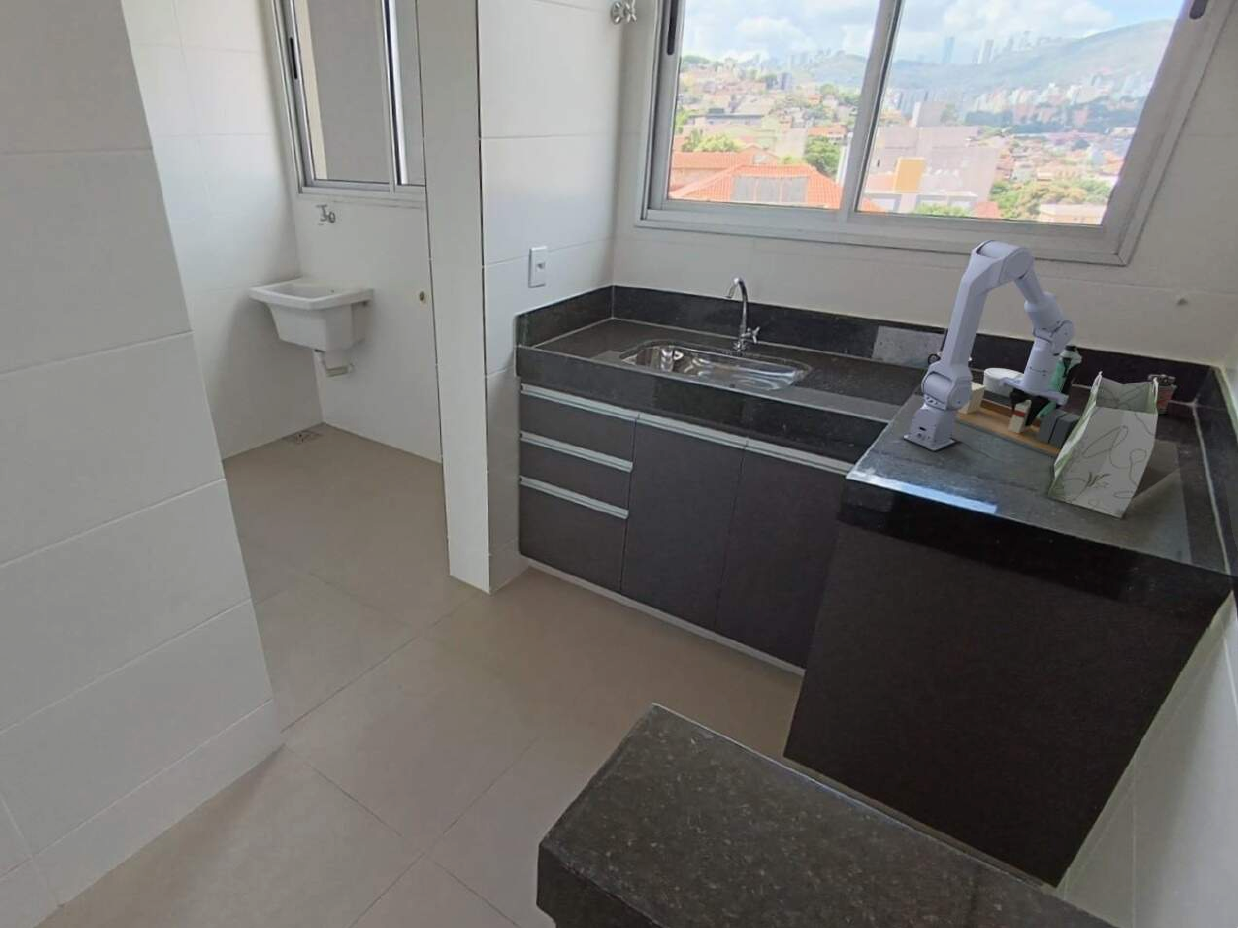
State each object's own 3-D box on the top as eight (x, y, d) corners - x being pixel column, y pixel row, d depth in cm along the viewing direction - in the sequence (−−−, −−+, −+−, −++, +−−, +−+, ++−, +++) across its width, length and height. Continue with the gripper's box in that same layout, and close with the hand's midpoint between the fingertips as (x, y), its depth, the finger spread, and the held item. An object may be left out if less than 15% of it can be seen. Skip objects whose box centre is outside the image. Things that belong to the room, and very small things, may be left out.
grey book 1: (1047, 443, 155) (1056, 417, 152) (1035, 439, 156) (1044, 413, 154) (1059, 438, 158) (1068, 412, 155) (1047, 434, 160) (1056, 408, 157)
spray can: (1060, 428, 166) (1090, 349, 157) (1036, 425, 167) (1064, 347, 158) (1052, 419, 171) (1080, 343, 162) (1029, 417, 172) (1056, 340, 163)
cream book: (1018, 433, 159) (1027, 408, 156) (1007, 429, 161) (1015, 404, 158) (1030, 428, 162) (1039, 403, 160) (1019, 424, 164) (1028, 399, 161)
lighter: (1159, 409, 181) (1175, 374, 177) (1167, 414, 178) (1183, 378, 174) (1128, 407, 182) (1143, 372, 178) (1135, 412, 179) (1151, 376, 174)
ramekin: (1029, 402, 182) (1035, 383, 179) (985, 397, 184) (991, 378, 181) (1016, 388, 192) (1022, 370, 189) (974, 383, 193) (980, 365, 191)
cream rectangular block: (966, 414, 168) (973, 390, 165) (956, 411, 170) (963, 387, 167) (978, 410, 172) (986, 386, 169) (968, 406, 174) (976, 383, 171)
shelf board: (1055, 458, 150) (1060, 446, 149) (928, 411, 172) (931, 400, 171) (1083, 444, 158) (1087, 433, 156) (958, 401, 180) (961, 390, 178)
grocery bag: (1059, 446, 157) (1095, 350, 147) (1130, 464, 150) (1174, 364, 140) (1041, 497, 134) (1083, 387, 124) (1124, 521, 127) (1176, 407, 116)
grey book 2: (1060, 448, 153) (1070, 422, 150) (1048, 444, 154) (1058, 418, 151) (1072, 442, 156) (1082, 417, 153) (1060, 438, 158) (1070, 413, 155)
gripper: (1081, 375, 152) (1060, 430, 158) (1017, 357, 162) (999, 409, 168) (1067, 380, 148) (1046, 436, 154) (1002, 361, 158) (985, 414, 164)
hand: (1021, 422), depth 161 cm, fingers closed on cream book, 2 cm apart
